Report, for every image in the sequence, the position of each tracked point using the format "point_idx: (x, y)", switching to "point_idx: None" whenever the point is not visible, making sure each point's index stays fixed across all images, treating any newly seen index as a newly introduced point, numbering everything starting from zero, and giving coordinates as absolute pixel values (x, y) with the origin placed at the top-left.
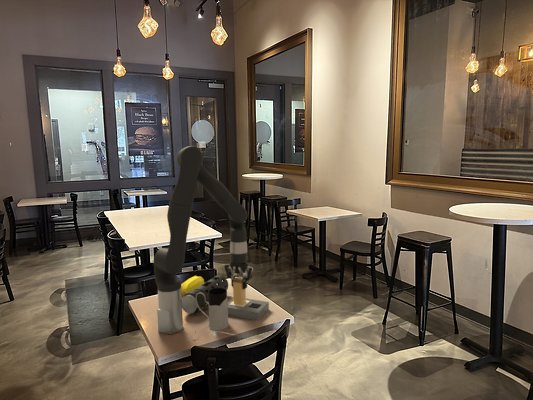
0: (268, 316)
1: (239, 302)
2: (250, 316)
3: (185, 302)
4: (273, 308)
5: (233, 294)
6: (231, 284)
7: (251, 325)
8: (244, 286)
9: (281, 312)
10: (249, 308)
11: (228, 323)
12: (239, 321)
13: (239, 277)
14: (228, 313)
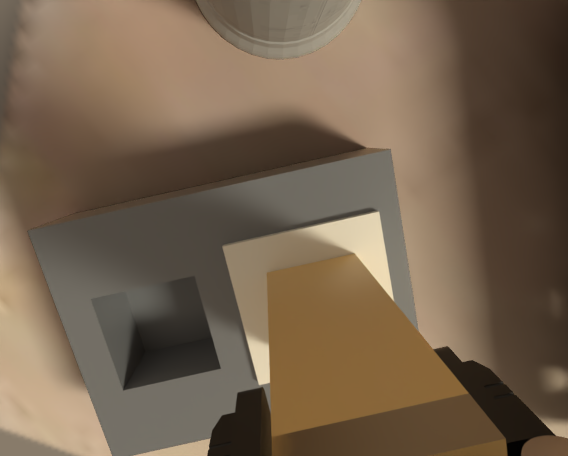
0: None
1: (291, 274)
2: (121, 205)
3: None
4: None
5: (380, 287)
6: (496, 376)
7: (64, 134)
8: (237, 433)
9: (44, 432)
10: (157, 261)
11: (215, 17)
12: (192, 133)
13: None
14: (333, 156)
